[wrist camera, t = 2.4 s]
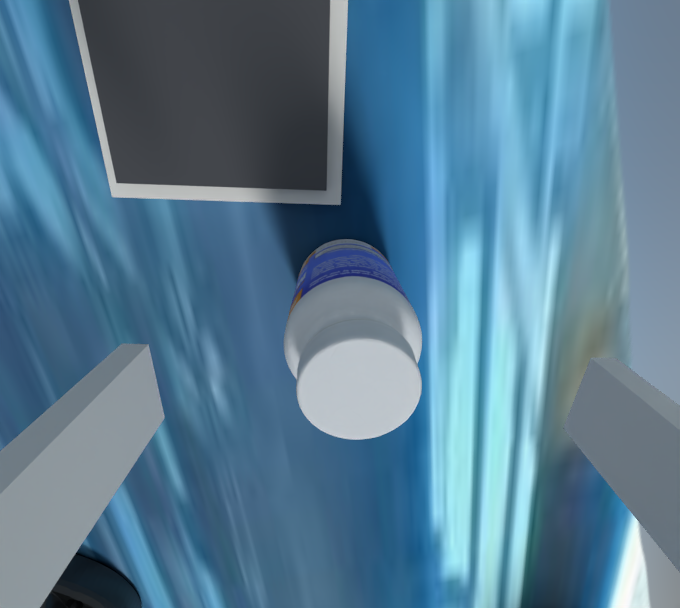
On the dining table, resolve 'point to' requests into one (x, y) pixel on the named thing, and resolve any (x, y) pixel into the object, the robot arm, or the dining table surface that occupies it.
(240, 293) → the dining table surface
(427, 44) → the dining table surface
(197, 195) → the ink pad
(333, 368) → the pill bottle
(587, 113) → the dining table surface
